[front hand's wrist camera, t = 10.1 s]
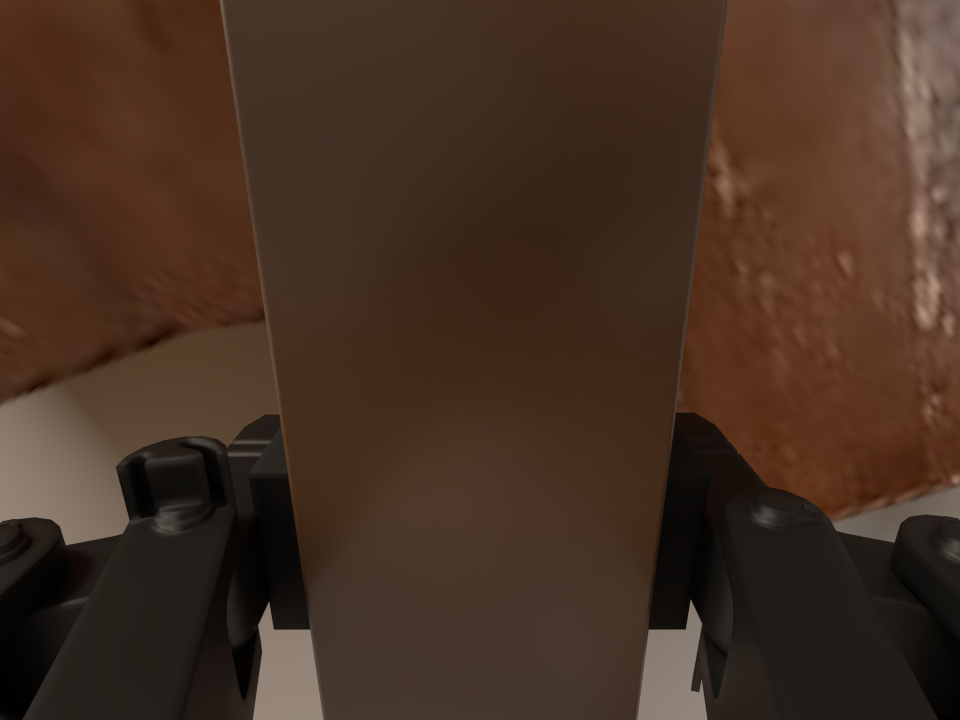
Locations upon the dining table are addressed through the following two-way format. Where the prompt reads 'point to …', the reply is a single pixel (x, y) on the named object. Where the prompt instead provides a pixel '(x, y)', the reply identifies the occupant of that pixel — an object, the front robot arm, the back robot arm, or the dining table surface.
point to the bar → (476, 331)
